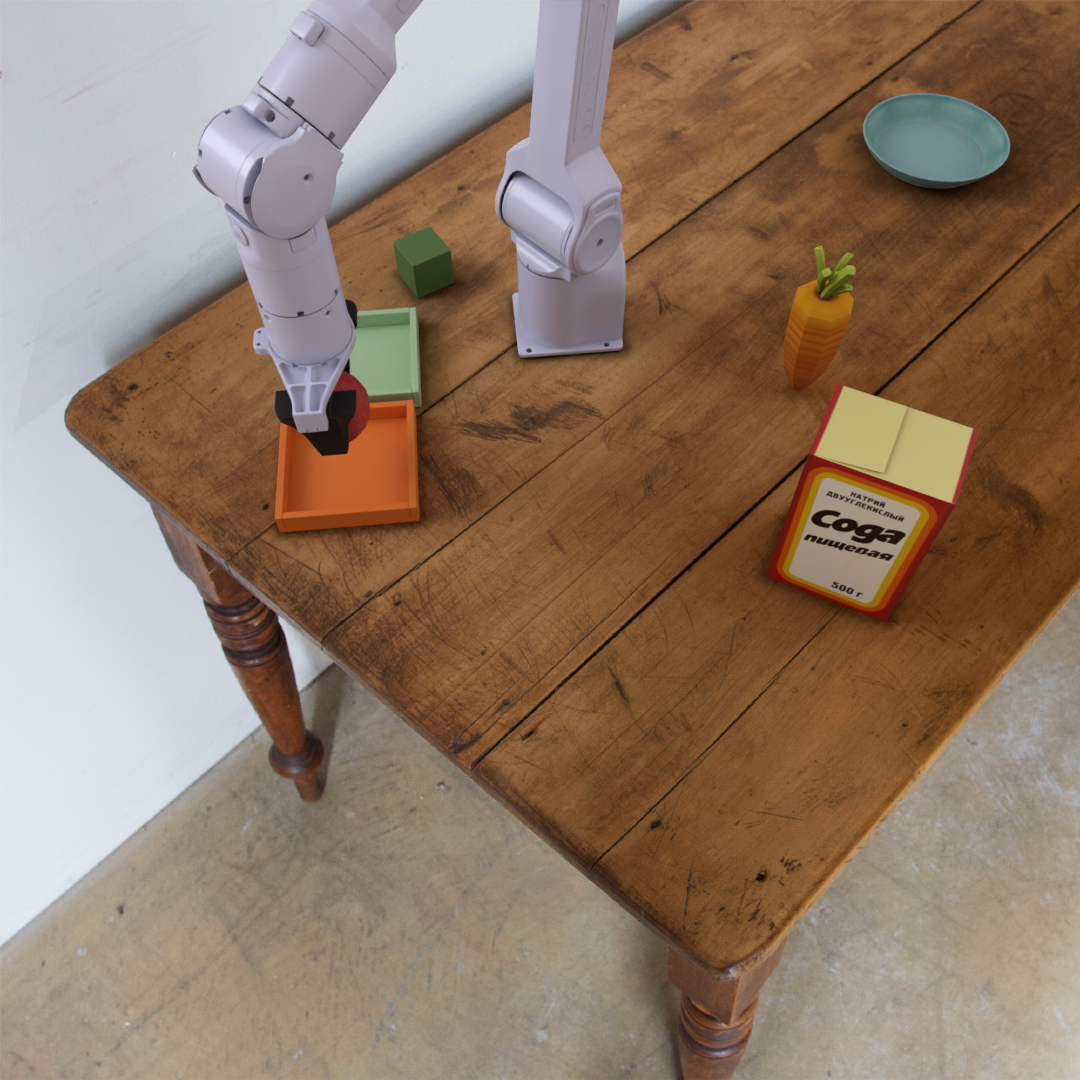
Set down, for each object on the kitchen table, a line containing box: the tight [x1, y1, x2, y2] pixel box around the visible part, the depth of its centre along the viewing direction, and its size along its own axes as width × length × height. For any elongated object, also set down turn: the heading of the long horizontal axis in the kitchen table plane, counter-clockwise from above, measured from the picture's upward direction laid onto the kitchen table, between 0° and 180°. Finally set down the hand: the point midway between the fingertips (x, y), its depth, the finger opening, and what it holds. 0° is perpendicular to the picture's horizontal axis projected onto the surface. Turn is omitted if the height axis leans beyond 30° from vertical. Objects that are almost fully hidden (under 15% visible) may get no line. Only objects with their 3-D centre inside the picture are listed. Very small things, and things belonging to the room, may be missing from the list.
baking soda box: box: [764, 383, 980, 623], centre depth 71 cm, size 10×6×16 cm
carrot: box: [782, 245, 857, 392], centre depth 81 cm, size 5×5×15 cm
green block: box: [392, 226, 455, 299], centre depth 94 cm, size 4×4×4 cm
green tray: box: [350, 306, 422, 408], centre depth 88 cm, size 10×10×2 cm
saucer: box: [862, 92, 1011, 190], centre depth 103 cm, size 15×15×3 cm
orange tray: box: [274, 400, 420, 534], centre depth 82 cm, size 11×11×2 cm
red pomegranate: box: [333, 371, 370, 442], centre depth 76 cm, size 6×6×8 cm
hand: (335, 418), depth 77 cm, fingers closed on red pomegranate, 6 cm apart
